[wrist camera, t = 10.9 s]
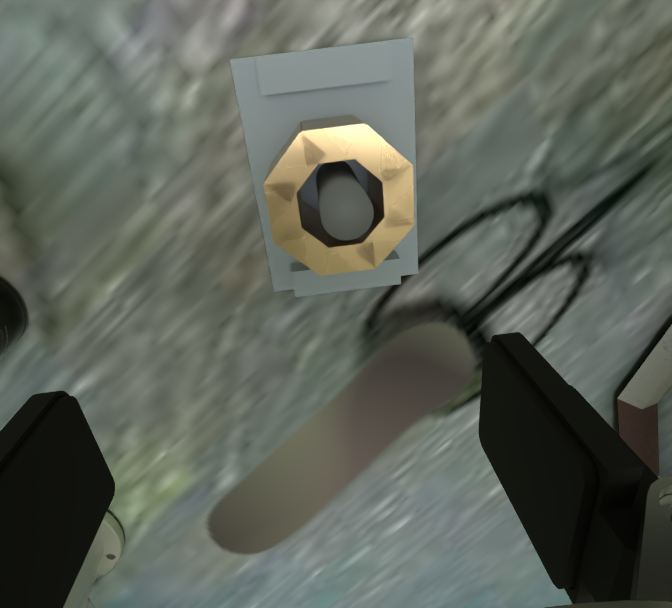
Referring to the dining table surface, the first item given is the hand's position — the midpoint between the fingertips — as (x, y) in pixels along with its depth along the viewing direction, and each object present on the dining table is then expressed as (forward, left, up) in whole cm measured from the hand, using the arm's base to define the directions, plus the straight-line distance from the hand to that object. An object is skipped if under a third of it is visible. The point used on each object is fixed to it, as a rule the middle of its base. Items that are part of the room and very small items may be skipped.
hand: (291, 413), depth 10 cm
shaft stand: (+1, -2, -21) cm, 21 cm away
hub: (+1, -2, -19) cm, 19 cm away
